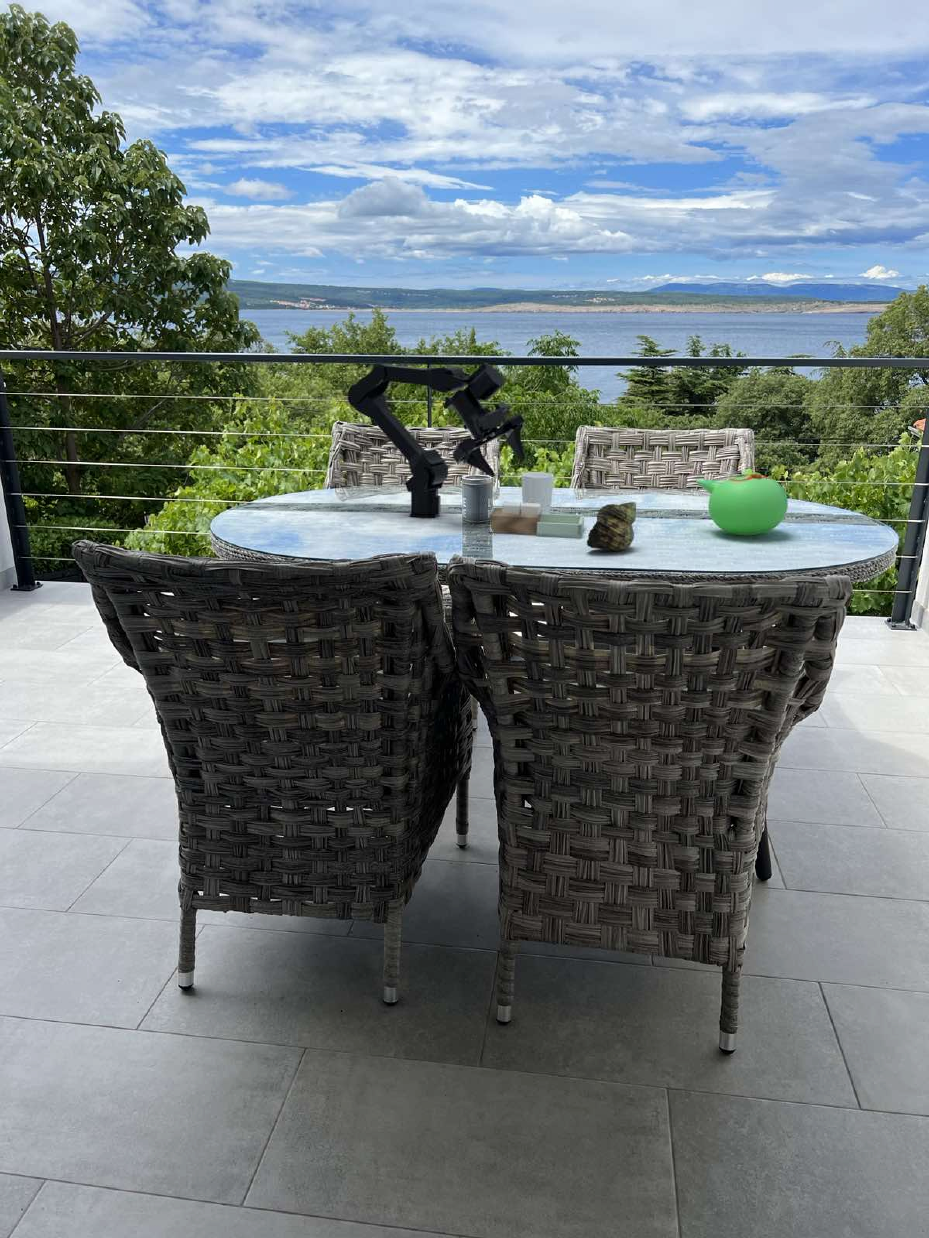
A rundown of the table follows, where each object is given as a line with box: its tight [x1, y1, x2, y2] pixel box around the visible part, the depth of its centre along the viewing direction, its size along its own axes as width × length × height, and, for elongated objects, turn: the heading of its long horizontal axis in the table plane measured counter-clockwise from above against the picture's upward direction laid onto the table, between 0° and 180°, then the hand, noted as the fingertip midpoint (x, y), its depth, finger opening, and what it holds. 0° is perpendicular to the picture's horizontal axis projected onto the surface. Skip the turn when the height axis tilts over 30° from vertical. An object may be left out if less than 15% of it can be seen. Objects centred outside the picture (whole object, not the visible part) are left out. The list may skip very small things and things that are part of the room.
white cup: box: [521, 471, 555, 514], centre depth 246 cm, size 8×8×10 cm
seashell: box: [586, 501, 637, 551], centre depth 211 cm, size 11×11×10 cm
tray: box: [536, 513, 585, 539], centre depth 228 cm, size 10×11×3 cm
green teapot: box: [695, 468, 789, 536], centre depth 226 cm, size 18×17×15 cm
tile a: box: [501, 501, 522, 515], centre depth 228 cm, size 4×4×2 cm
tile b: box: [521, 502, 541, 516], centre depth 228 cm, size 4×4×2 cm
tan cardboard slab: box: [489, 507, 541, 536], centre depth 229 cm, size 11×9×4 cm
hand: (509, 468), depth 230 cm, fingers open, 9 cm apart
